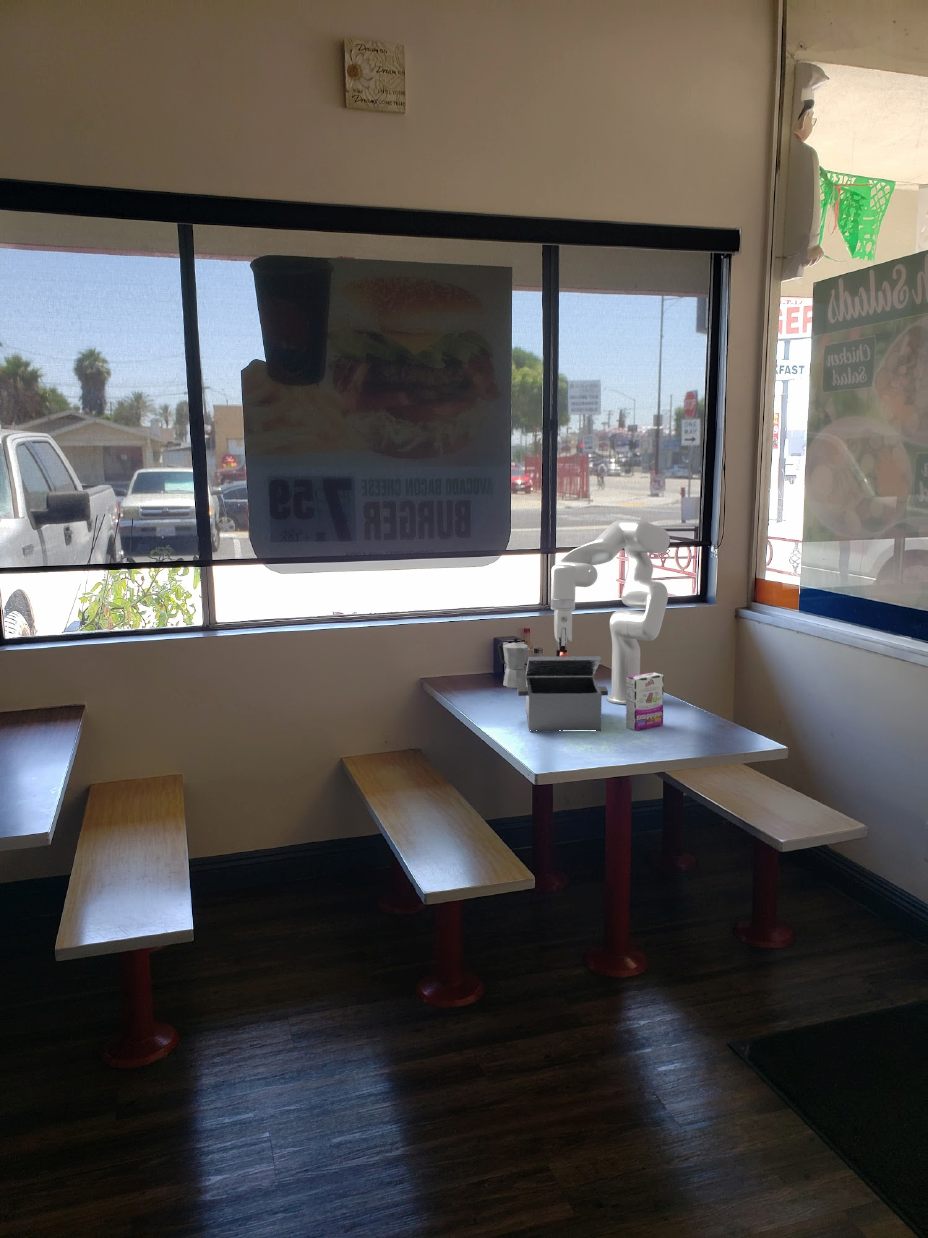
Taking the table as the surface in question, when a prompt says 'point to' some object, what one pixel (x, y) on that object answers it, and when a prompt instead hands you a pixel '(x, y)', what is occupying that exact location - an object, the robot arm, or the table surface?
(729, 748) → the table surface
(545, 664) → the cooker lid
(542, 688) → the grey metal box
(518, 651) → the coffeepot
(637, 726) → the candy bar box
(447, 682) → the table surface
